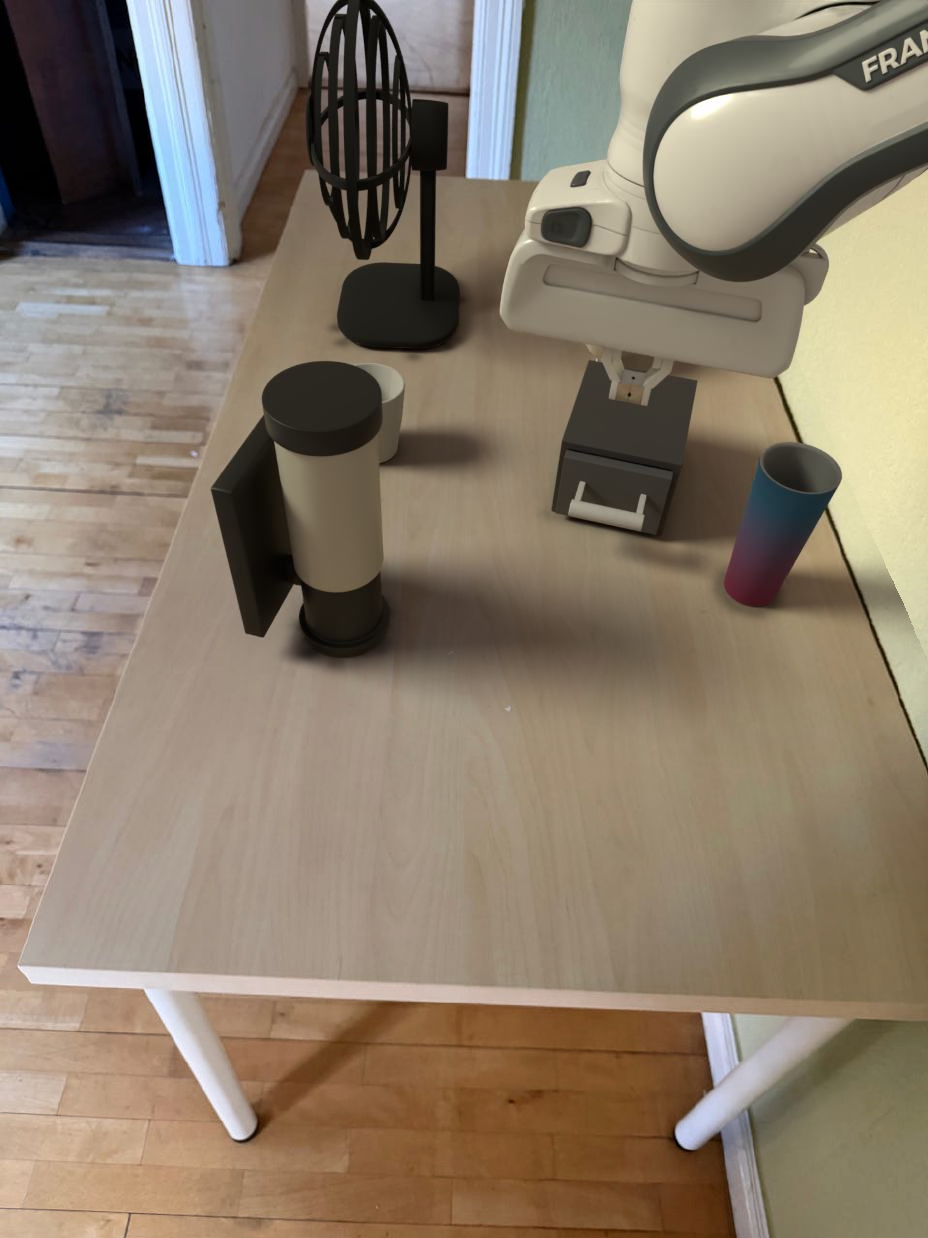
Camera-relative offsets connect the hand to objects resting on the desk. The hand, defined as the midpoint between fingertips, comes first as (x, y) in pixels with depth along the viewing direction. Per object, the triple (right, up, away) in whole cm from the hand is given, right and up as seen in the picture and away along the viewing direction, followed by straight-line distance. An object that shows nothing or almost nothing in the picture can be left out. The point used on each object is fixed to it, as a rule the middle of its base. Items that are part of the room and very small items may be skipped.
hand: (628, 398), depth 65 cm
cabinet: (+4, -1, +30) cm, 30 cm away
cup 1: (-24, +2, +31) cm, 39 cm away
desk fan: (-22, +24, +51) cm, 60 cm away
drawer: (+3, -4, +26) cm, 27 cm away
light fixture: (-24, -17, +15) cm, 33 cm away
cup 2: (+15, -14, +20) cm, 29 cm away
